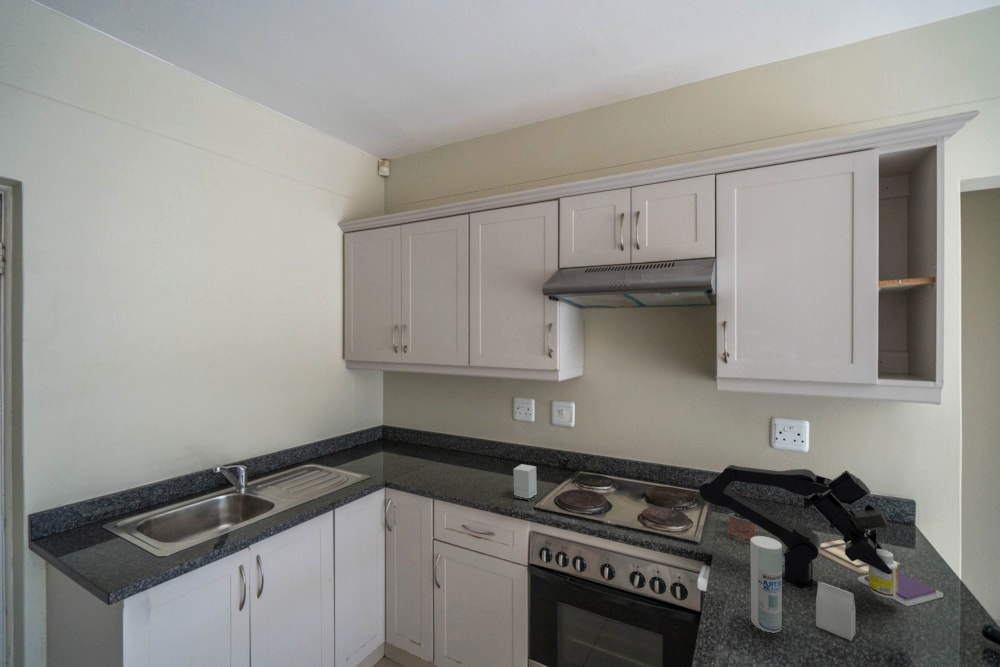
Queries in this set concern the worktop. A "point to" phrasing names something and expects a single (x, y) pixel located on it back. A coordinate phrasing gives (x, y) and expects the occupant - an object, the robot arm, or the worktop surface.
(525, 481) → the supplement box
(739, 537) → the lighter
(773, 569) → the spray can
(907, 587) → the ink pad
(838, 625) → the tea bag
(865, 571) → the board
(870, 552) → the robot arm
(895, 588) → the supplement bottle
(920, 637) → the worktop surface
